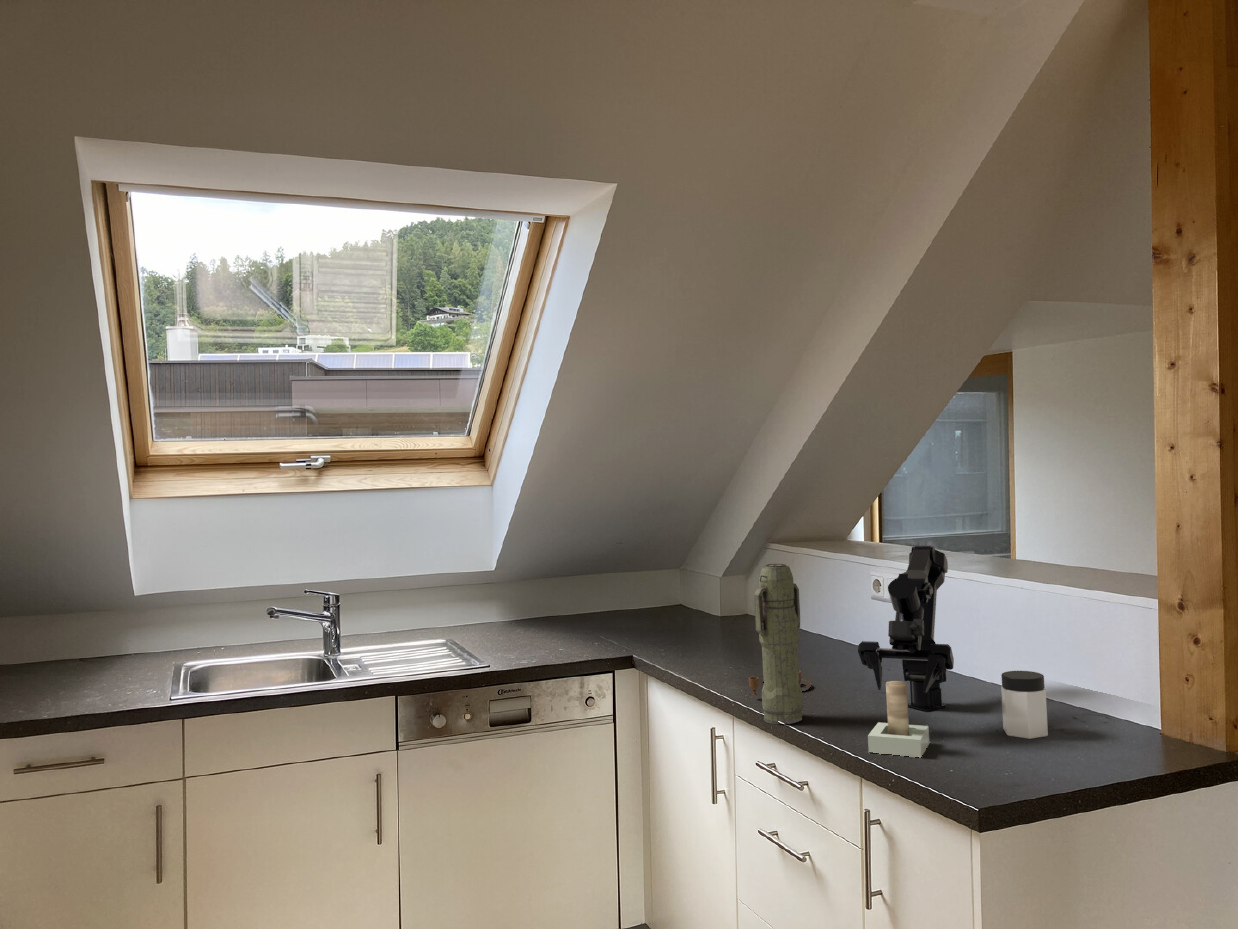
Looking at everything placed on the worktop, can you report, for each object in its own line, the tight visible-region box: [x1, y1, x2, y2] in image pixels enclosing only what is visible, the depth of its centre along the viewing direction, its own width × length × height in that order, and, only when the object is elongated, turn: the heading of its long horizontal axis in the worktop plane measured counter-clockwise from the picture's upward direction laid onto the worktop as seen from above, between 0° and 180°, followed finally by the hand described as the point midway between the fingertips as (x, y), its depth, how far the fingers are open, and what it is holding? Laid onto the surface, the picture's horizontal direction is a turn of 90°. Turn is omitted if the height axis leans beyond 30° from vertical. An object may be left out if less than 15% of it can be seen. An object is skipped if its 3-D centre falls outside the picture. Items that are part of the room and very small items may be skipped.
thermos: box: [753, 563, 804, 726], centre depth 216 cm, size 9×12×35 cm
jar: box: [1000, 670, 1049, 740], centre depth 197 cm, size 9×8×12 cm
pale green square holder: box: [867, 721, 930, 759], centre depth 190 cm, size 10×10×4 cm
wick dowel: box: [885, 680, 910, 736], centre depth 190 cm, size 4×4×13 cm
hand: (901, 690), depth 195 cm, fingers open, 9 cm apart
